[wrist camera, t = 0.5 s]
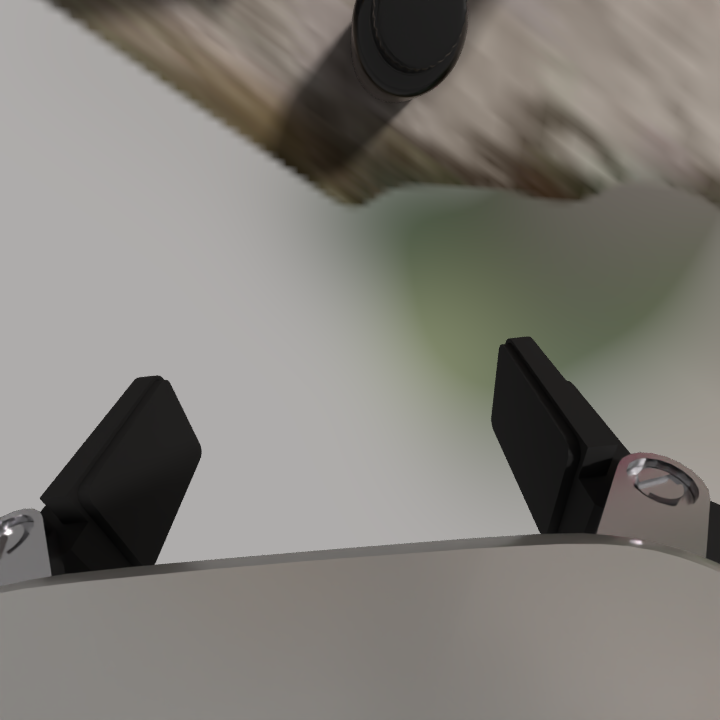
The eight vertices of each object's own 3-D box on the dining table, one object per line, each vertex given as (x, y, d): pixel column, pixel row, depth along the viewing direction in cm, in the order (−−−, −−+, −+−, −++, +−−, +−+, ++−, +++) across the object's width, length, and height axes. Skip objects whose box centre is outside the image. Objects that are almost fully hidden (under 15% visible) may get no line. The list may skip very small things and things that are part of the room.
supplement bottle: (442, 93, 30) (487, 83, 20) (359, 110, 31) (363, 109, 21) (437, -23, 27) (489, -105, 17) (342, -2, 27) (339, -69, 17)
